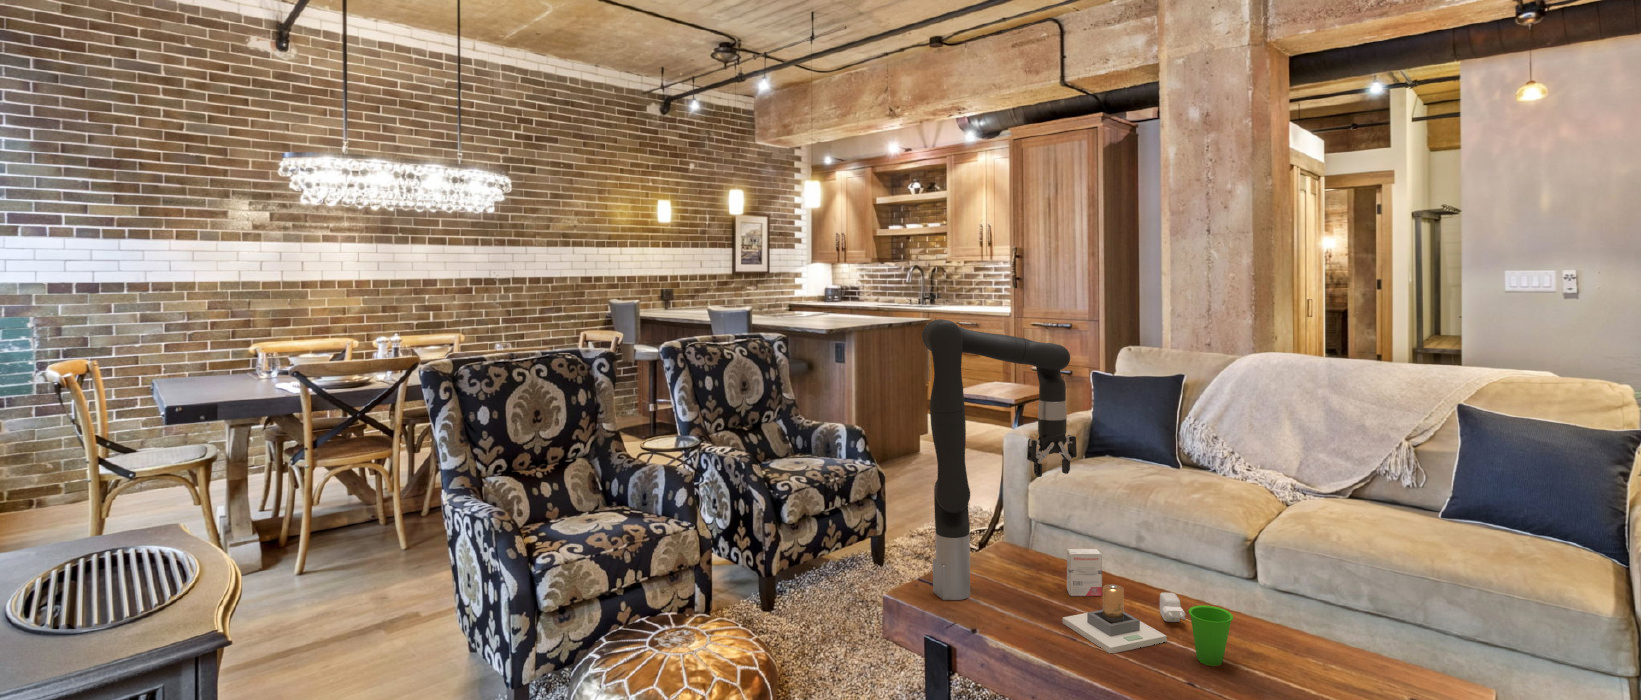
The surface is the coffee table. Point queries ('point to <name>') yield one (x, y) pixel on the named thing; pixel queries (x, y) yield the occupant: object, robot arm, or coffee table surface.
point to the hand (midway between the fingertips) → (1051, 474)
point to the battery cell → (1113, 603)
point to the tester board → (1114, 631)
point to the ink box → (1084, 572)
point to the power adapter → (1171, 608)
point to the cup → (1210, 633)
